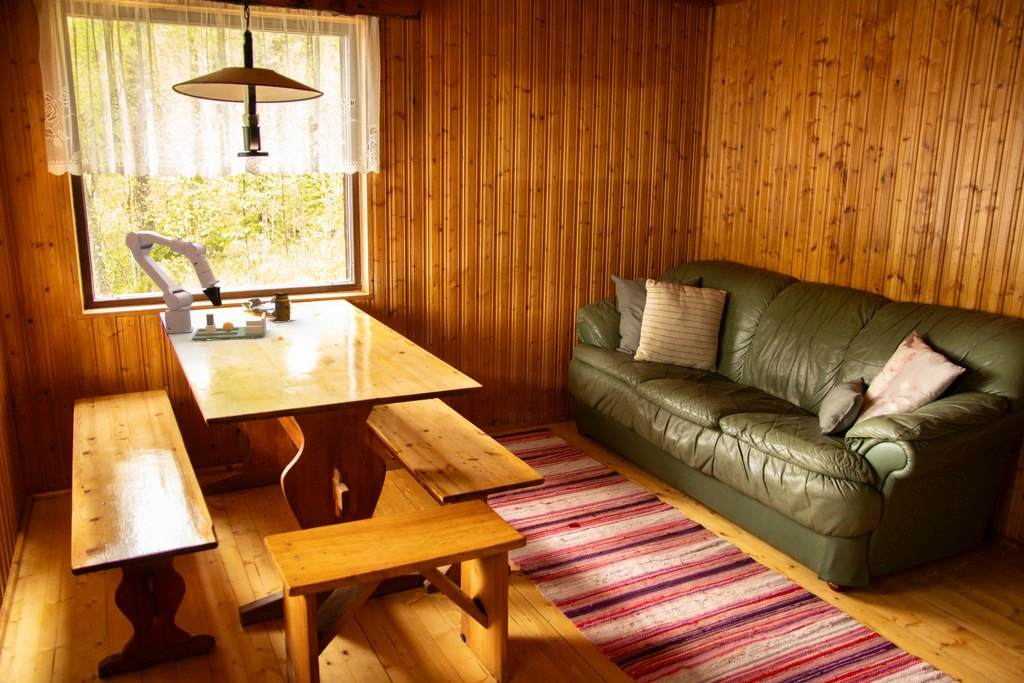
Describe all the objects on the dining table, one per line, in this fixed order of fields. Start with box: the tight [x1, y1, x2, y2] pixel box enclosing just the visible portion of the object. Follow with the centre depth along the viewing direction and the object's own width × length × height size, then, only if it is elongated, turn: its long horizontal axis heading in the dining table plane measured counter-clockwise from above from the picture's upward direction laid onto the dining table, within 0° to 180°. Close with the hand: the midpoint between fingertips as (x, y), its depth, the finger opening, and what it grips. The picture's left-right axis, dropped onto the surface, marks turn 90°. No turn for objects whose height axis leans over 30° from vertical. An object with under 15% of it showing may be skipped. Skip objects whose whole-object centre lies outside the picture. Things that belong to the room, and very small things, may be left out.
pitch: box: [191, 326, 265, 341], centre depth 321 cm, size 26×18×2 cm
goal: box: [244, 312, 267, 335], centre depth 323 cm, size 8×12×6 cm, turn 15°
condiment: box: [268, 291, 291, 323], centre depth 348 cm, size 7×8×12 cm
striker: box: [205, 313, 217, 333], centre depth 319 cm, size 3×6×7 cm, turn 15°
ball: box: [222, 321, 235, 332], centre depth 321 cm, size 4×4×4 cm
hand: (218, 305), depth 319 cm, fingers open, 7 cm apart
